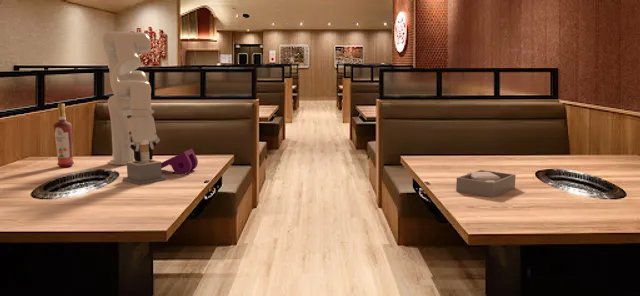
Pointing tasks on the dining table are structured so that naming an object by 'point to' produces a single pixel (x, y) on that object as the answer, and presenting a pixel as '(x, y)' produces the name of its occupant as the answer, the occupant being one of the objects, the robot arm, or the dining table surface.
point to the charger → (484, 176)
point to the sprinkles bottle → (144, 152)
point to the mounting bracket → (182, 162)
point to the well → (144, 172)
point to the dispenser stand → (486, 184)
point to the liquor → (63, 139)
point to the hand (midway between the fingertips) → (143, 159)
